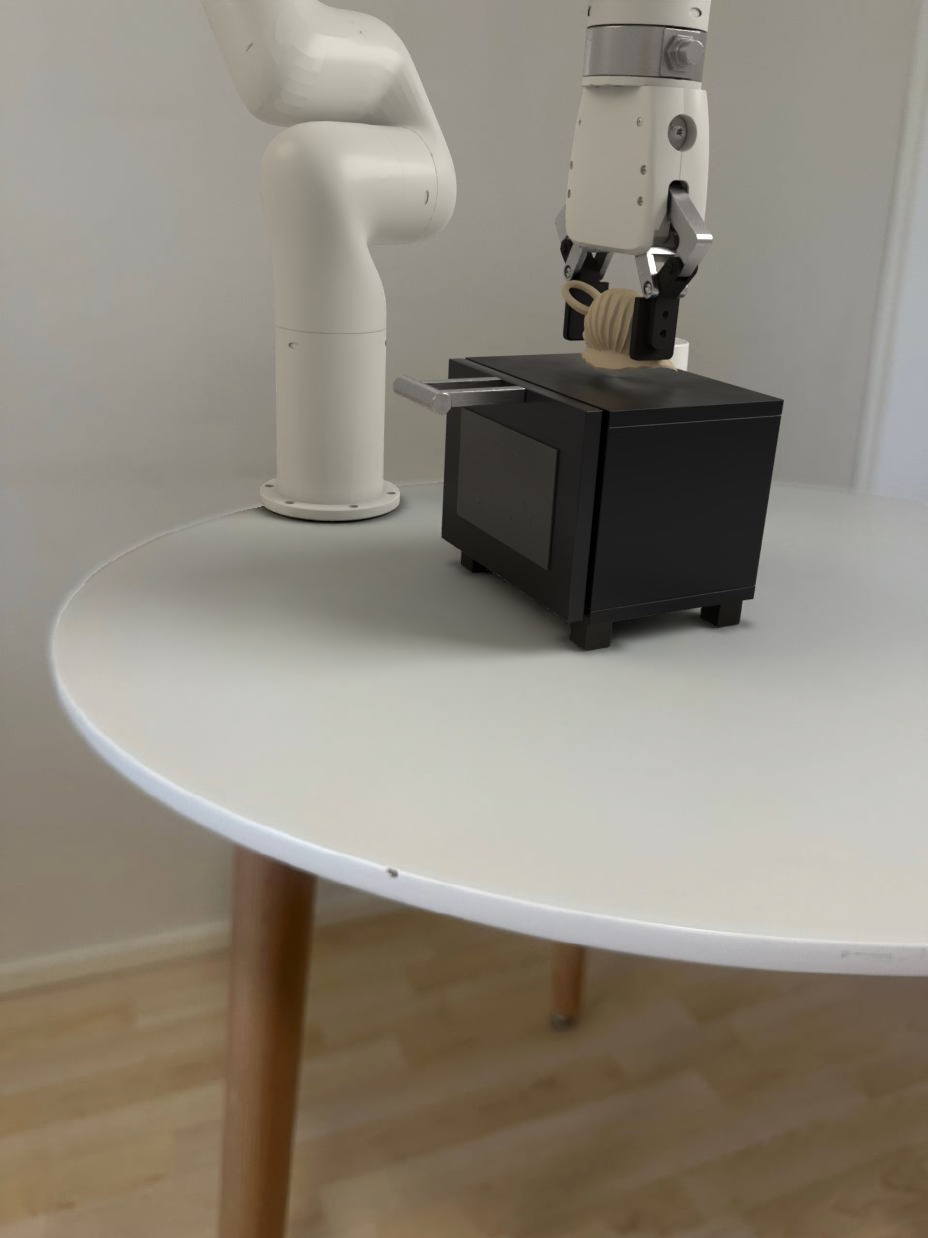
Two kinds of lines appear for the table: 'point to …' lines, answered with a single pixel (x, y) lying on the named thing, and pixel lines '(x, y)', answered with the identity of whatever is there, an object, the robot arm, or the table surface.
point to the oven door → (516, 479)
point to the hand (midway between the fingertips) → (615, 347)
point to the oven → (665, 489)
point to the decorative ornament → (609, 328)
